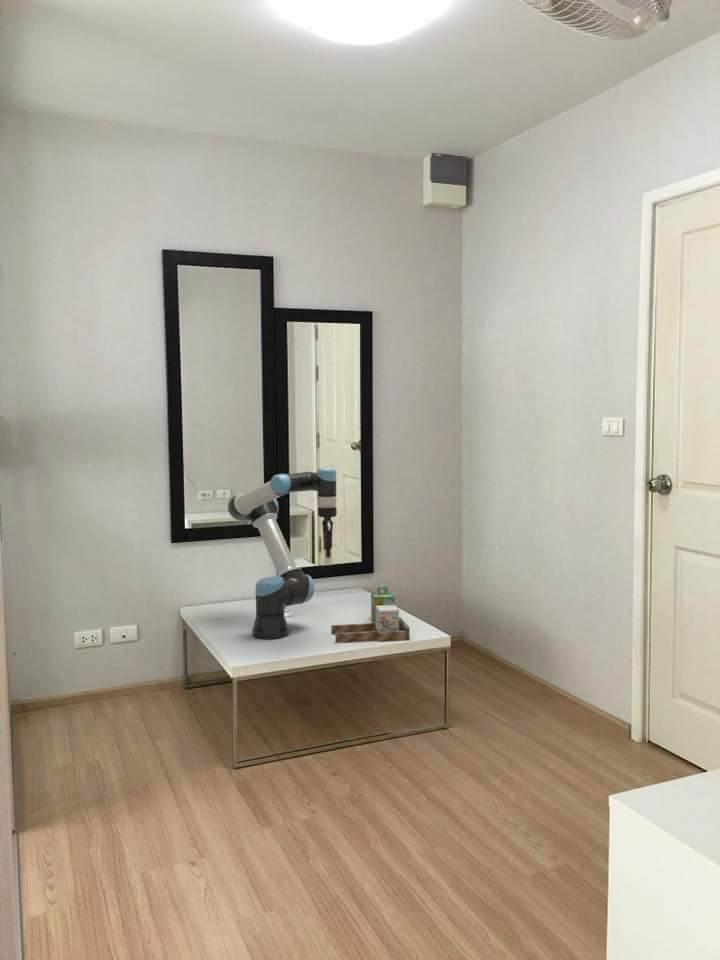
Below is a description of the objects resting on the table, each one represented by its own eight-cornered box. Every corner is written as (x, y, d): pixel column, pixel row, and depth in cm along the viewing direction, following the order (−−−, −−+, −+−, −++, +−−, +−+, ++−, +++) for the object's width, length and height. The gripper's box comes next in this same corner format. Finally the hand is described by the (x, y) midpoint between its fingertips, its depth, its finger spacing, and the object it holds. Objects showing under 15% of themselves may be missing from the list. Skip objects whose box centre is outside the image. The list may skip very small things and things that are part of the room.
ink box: (378, 638, 331) (378, 610, 330) (375, 633, 340) (375, 605, 339) (399, 637, 332) (399, 609, 331) (395, 632, 341) (395, 604, 340)
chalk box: (374, 623, 355) (373, 590, 353) (370, 618, 364) (370, 585, 362) (395, 622, 356) (394, 589, 355) (391, 617, 365) (390, 584, 364)
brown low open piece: (336, 643, 324) (336, 631, 324) (330, 632, 341) (330, 620, 340) (409, 639, 329) (409, 627, 329) (400, 628, 346) (400, 617, 345)
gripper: (338, 508, 322) (339, 567, 324) (334, 504, 335) (334, 561, 337) (319, 508, 321) (320, 568, 323) (316, 505, 333) (316, 562, 335)
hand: (327, 564), depth 330 cm, fingers closed
